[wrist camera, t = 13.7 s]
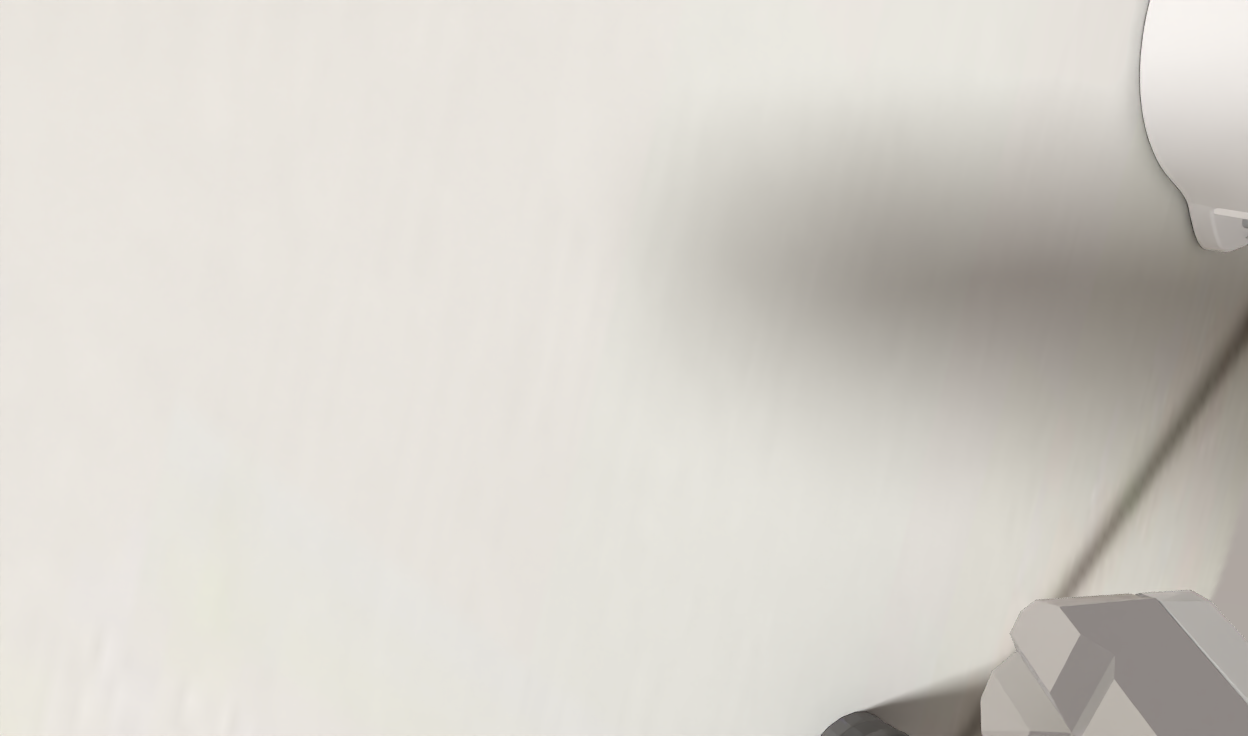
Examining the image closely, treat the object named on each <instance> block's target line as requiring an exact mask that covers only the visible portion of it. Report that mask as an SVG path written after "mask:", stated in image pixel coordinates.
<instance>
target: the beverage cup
mask: <svg viewBox="0 0 1248 736" xmlns="http://www.w3.org/2000/svg"><path fill="white" fill-rule="evenodd" d="M821 736H909V735H907V734H906V733H904V732H902V731H899V730H897V729H895V728H894V727H892V726H890V725H889V724H886V723H884V722H883V721H882V720H881V719H879V718H878V717H877V716H875V715H873V714H870V713H868V712H857V713H852V714H850V715H847V716H845V717H842V718H841V719H839V720H838V721H836V722H835V723H834V724H832V725H831V726H830V727H828V728H827V730H826V731H825V732H824V733H823V734H822V735H821Z"/></svg>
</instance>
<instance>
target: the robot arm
mask: <svg viewBox="0 0 1248 736" xmlns="http://www.w3.org/2000/svg"><path fill="white" fill-rule="evenodd" d="M1140 92H1141V104H1142V111H1143V118H1144V123H1145V127H1146V132H1147V135H1148V139H1149V142H1150V144H1151V147H1152V150H1153V152H1154V154H1155V156H1156V159H1157V161H1158V162H1159V164H1160V166H1161V168H1162V169H1163V171H1164V172H1165V173H1166V175H1167V176H1168V177H1169V178H1170V179H1171V181H1172V182H1173V183H1174V184H1175V185H1176V186H1177V188H1178V189H1179V190H1180V191H1181V193H1182V194H1183V195H1184V197H1185V199H1186V201H1187V203H1188V207H1189V212H1190V216H1191V221H1192V225H1193V229H1194V232H1195V235H1196V238H1197V240H1198V242H1199V244H1200V246H1201V247H1202V248H1204V249H1206V250H1212V251H1220V252H1231V251H1234V250H1237V249H1239V248H1241V247H1244V246H1246V245H1248V0H1150V3H1149V7H1148V11H1147V16H1146V21H1145V26H1144V33H1143V40H1142V49H1141V62H1140ZM1010 635H1011V638H1012V640H1013V643H1014V645H1015V648H1016V652H1014V653H1013V654H1012V655H1011V656H1010V657H1008V658H1007V659H1006V660H1005V661H1004V662H1002V663H1001V664H1000V665H999V666H997V667H996V668H995V669H994V670H993V671H992V672H991V675H990V677H989V680H988V682H987V685H986V687H985V690H984V692H983V694H982V697H981V699H980V702H981V732H982V735H983V736H1248V641H1247V640H1246V639H1245V638H1244V637H1243V636H1242V635H1241V634H1240V633H1239V631H1237V629H1236V628H1235V627H1234V626H1233V625H1232V624H1231V623H1230V622H1229V620H1228V619H1227V618H1226V617H1225V616H1224V615H1223V614H1222V613H1221V612H1220V611H1219V609H1218V608H1217V607H1216V606H1215V605H1214V604H1213V603H1212V602H1211V601H1210V600H1208V599H1206V598H1205V597H1203V596H1201V595H1199V594H1197V593H1196V592H1194V591H1192V590H1180V591H1164V592H1149V593H1139V594H1135V595H1134V594H1114V595H1099V596H1084V597H1069V598H1054V599H1039V600H1035V601H1034V602H1032V603H1031V604H1030V605H1028V606H1027V607H1026V608H1024V609H1023V610H1022V611H1021V612H1020V614H1019V616H1018V618H1017V620H1016V622H1015V624H1014V626H1013V628H1012V630H1011V632H1010Z"/></svg>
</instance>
